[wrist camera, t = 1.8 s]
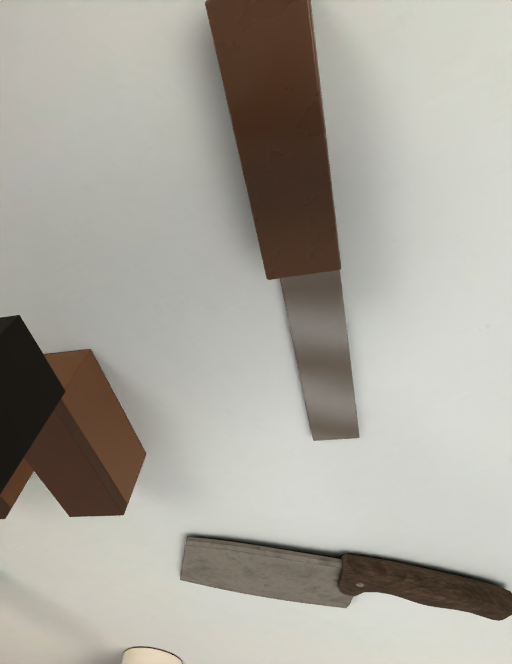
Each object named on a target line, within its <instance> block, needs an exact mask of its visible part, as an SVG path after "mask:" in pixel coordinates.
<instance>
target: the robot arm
mask: <svg viewBox="0 0 512 664" xmlns="http://www.w3.org/2000/svg"><path fill="white" fill-rule="evenodd" d="M65 392H66V391H65V389H64V387H63V386H62V384H61V383H60V381H59V379H58V378H57V376H56V374H55V373H54V371H53V369H52V368H51V366H50V364H49V363H48V361H47V360H46V358H45V356H44V355H43V353H42V351H41V350H40V348H39V346H38V345H37V343H36V341H35V340H34V338H33V337H32V335H31V333H30V332H29V330H28V328H27V327H26V325H25V323H24V322H23V320H22V319H21V317H20V315H16V316H9V317H1V318H0V494H1V493H2V491H3V489H4V488H5V486H6V485H7V483H8V482H9V480H10V478H11V477H12V475H13V474H14V472H15V471H16V469H17V467H18V466H19V464H20V463H21V461H22V460H23V458H24V456H25V455H26V453H27V452H28V450H29V449H30V447H31V445H32V444H33V442H34V441H35V439H36V438H37V436H38V434H39V433H40V431H41V430H42V428H43V427H44V425H45V423H46V422H47V420H48V419H49V417H50V416H51V414H52V412H53V411H54V409H55V408H56V406H57V405H58V403H59V401H60V400H61V398H62V397H63V395H64V394H65Z"/></svg>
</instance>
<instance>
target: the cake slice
mask: <svg viewBox="0 0 512 664" xmlns="http://www.w3.org/2000/svg"><path fill="white" fill-rule="evenodd" d="M44 356H45V358H46V360H47V361H48V363H49V364H50V366H51V368H52V369H53V371H54V373H55V374H56V376H57V378H58V379H59V381H60V383H61V384H62V386H63V387H64V389H65V391H66V392H65V394H64V395H63V397H62V398H61V400H60V401H59V403H58V405H57V406H56V408H55V409H54V411H53V412H52V414H51V416H50V417H49V419H48V420H47V422H46V423H45V425H44V427H43V428H42V430H41V431H40V433H39V434H38V436H37V438H36V439H35V441H34V442H33V444H32V445H31V447H30V449H29V450H28V452H27V453H26V455H25V456H24V458H25V460H26V461H27V462H28V463H29V465H30V466H31V467H32V469H33V470H34V471H35V472H36V474H37V475H38V476H39V478H40V479H41V480H42V482H43V483H44V484H45V485H46V487H47V488H48V489H49V491H50V492H51V493H52V494H53V496H54V497H55V498H56V500H57V501H58V502H59V503H60V505H61V506H62V507H63V509H64V510H65V511H66V513H67V514H68V515H69V516H70V517H81V516H114V515H124V513H125V510H126V508H127V504H128V503H129V500H130V497H131V494H132V492H133V489H134V486H135V483H136V481H137V478H138V475H139V473H140V470H141V467H142V464H143V462H144V459H145V456H146V452H145V451H144V449H143V447H142V445H141V443H140V441H139V439H138V437H137V436H136V434H135V432H134V430H133V428H132V426H131V424H130V422H129V420H128V419H127V417H126V415H125V413H124V411H123V409H122V407H121V405H120V404H119V402H118V400H117V398H116V396H115V394H114V392H113V390H112V389H111V387H110V385H109V383H108V381H107V379H106V377H105V375H104V374H103V372H102V370H101V368H100V366H99V364H98V362H97V360H96V359H95V357H94V355H93V353H92V351H91V349H88V350H79V351H70V352H62V353H53V354H44Z"/></svg>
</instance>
